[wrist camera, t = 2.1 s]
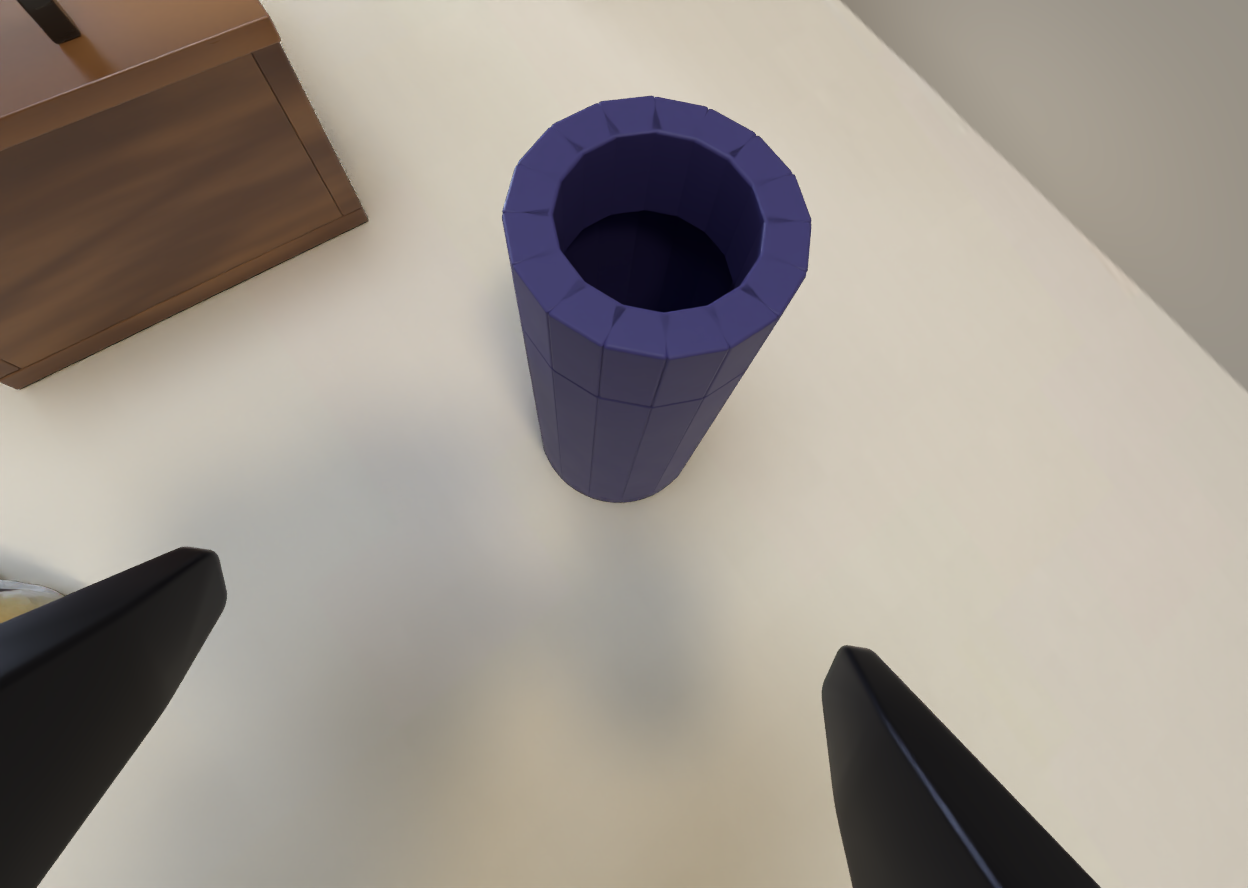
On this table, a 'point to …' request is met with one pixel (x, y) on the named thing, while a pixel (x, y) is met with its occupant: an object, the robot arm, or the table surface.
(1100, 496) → the table surface
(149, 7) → the bread box lid
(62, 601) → the robot arm
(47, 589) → the pastry
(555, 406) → the purple hollow cylinder
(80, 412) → the table surface
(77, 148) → the bread box
